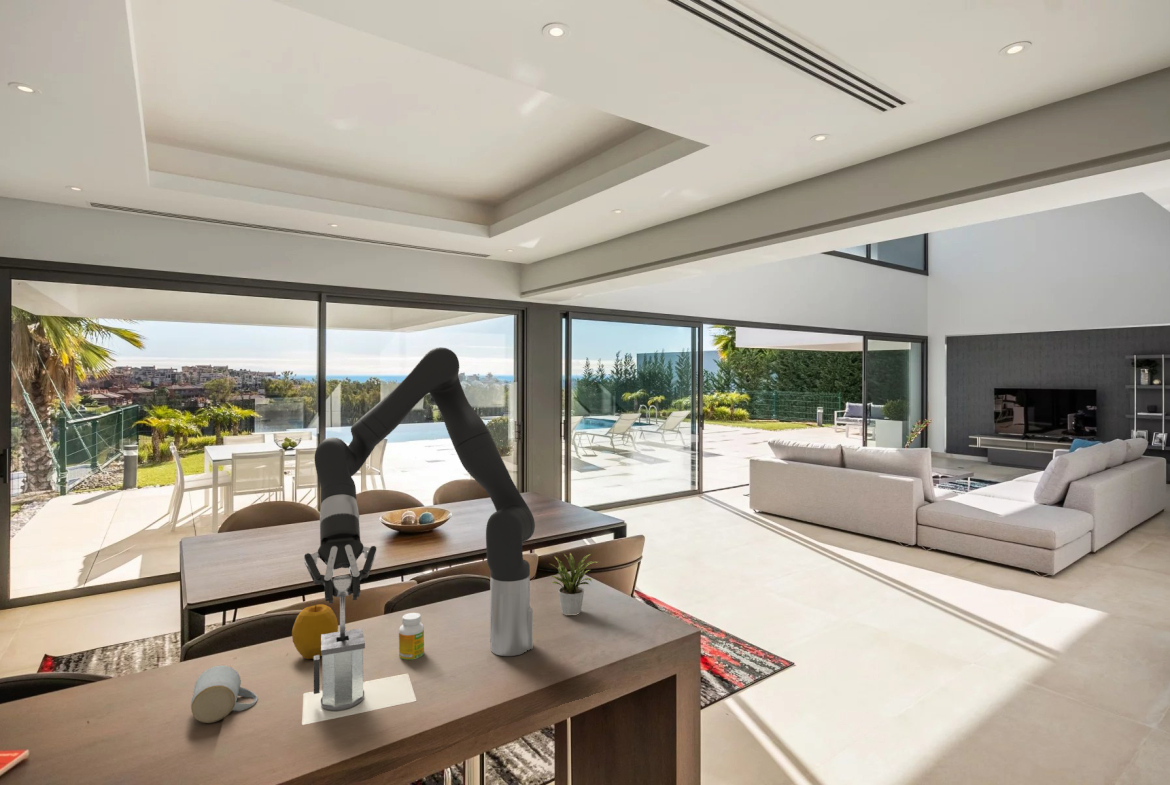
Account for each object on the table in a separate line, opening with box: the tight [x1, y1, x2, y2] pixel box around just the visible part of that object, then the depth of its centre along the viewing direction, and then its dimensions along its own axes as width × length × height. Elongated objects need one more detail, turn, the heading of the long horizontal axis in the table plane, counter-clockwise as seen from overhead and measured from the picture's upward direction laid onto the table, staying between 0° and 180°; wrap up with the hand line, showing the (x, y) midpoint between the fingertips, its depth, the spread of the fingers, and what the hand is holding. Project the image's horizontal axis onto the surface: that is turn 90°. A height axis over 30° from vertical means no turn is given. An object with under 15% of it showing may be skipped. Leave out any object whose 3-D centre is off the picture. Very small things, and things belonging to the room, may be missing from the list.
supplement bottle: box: [398, 612, 425, 661], centre depth 135 cm, size 5×5×10 cm
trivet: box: [301, 672, 417, 726], centre depth 116 cm, size 20×12×1 cm, turn 114°
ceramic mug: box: [190, 664, 259, 724], centre depth 113 cm, size 11×8×8 cm
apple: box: [291, 603, 339, 660], centre depth 136 cm, size 10×10×12 cm
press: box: [313, 627, 366, 711], centre depth 115 cm, size 9×8×12 cm
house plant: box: [550, 552, 598, 614], centre depth 162 cm, size 14×14×16 cm
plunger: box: [332, 574, 352, 641], centre depth 115 cm, size 5×5×14 cm
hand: (342, 599), depth 113 cm, fingers closed on plunger, 3 cm apart
